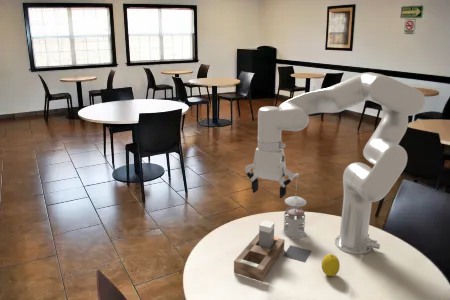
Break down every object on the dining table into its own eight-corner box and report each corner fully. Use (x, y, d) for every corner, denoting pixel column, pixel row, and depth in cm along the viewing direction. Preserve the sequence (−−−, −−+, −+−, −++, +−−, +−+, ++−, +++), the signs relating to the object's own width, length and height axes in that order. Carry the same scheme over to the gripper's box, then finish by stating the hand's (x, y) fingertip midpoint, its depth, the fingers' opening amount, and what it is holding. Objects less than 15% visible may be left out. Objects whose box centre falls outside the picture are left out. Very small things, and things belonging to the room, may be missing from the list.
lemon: (328, 283, 119) (331, 261, 116) (317, 273, 124) (318, 252, 121) (342, 278, 121) (344, 256, 119) (330, 269, 126) (332, 248, 124)
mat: (311, 251, 136) (311, 250, 136) (305, 263, 129) (305, 262, 129) (290, 246, 139) (290, 245, 139) (282, 257, 133) (282, 256, 133)
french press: (279, 238, 145) (281, 177, 137) (283, 223, 155) (286, 166, 148) (305, 242, 142) (309, 179, 134) (308, 227, 153) (312, 168, 145)
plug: (273, 252, 135) (274, 222, 132) (269, 258, 132) (270, 227, 128) (262, 249, 137) (263, 220, 133) (258, 255, 134) (259, 225, 130)
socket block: (284, 250, 137) (284, 239, 135) (262, 282, 120) (262, 269, 118) (258, 243, 141) (258, 232, 140) (233, 272, 124) (233, 260, 123)
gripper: (299, 145, 121) (297, 194, 127) (249, 139, 129) (249, 185, 135) (291, 152, 115) (289, 203, 120) (240, 145, 123) (240, 193, 128)
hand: (268, 193), depth 128 cm, fingers open, 9 cm apart
